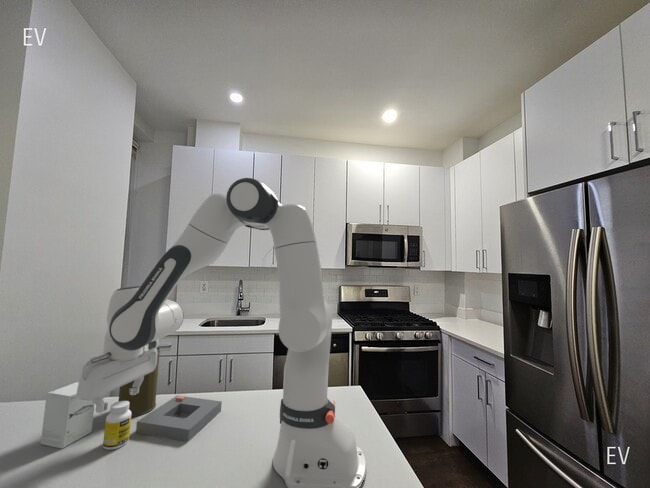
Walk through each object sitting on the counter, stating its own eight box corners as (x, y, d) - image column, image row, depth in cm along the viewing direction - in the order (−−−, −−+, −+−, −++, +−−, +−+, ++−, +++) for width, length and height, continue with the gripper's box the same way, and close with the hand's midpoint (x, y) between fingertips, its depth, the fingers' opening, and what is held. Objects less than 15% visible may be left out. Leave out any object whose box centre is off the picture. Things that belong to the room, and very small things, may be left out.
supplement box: (62, 449, 69) (68, 396, 70) (39, 444, 71) (45, 392, 72) (92, 432, 76) (97, 384, 77) (71, 428, 78) (76, 381, 79)
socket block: (220, 411, 90) (221, 398, 90) (188, 441, 74) (189, 426, 74) (176, 404, 92) (177, 392, 93) (135, 433, 77) (137, 418, 77)
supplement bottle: (118, 451, 69) (122, 410, 70) (97, 450, 69) (101, 409, 70) (134, 437, 75) (137, 399, 75) (113, 436, 75) (117, 398, 75)
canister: (132, 420, 82) (138, 351, 84) (108, 413, 86) (114, 346, 87) (164, 404, 93) (169, 342, 94) (141, 398, 96) (146, 338, 98)
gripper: (96, 362, 63) (88, 426, 62) (163, 339, 83) (158, 387, 82) (73, 358, 64) (65, 421, 63) (144, 337, 84) (139, 384, 83)
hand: (118, 402), depth 73 cm, fingers open, 8 cm apart
